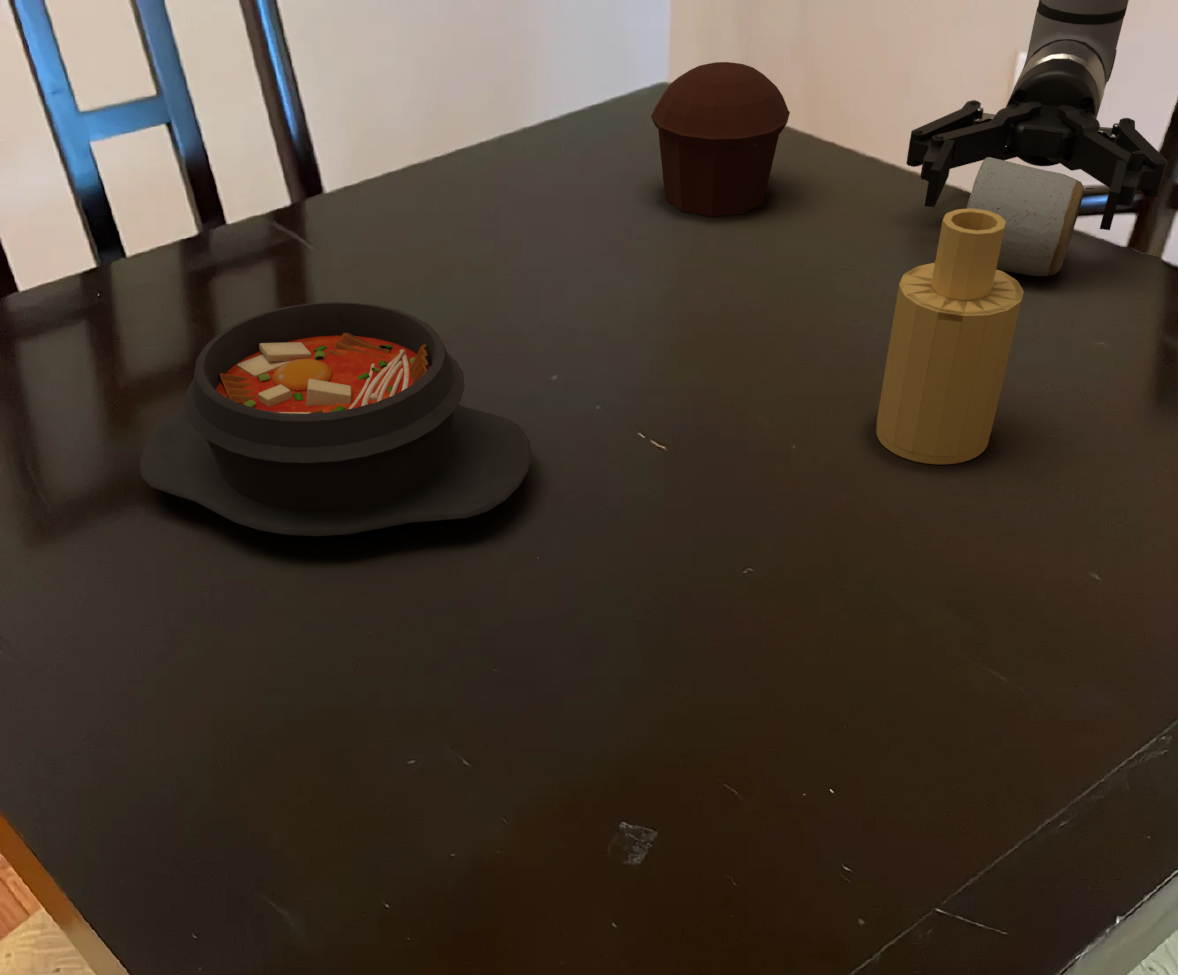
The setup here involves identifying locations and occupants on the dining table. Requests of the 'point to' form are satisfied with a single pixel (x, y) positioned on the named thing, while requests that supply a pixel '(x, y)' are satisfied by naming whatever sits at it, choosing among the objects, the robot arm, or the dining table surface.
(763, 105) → the muffin
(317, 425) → the casserole
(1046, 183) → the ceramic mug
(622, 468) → the dining table surface
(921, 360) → the bottle
